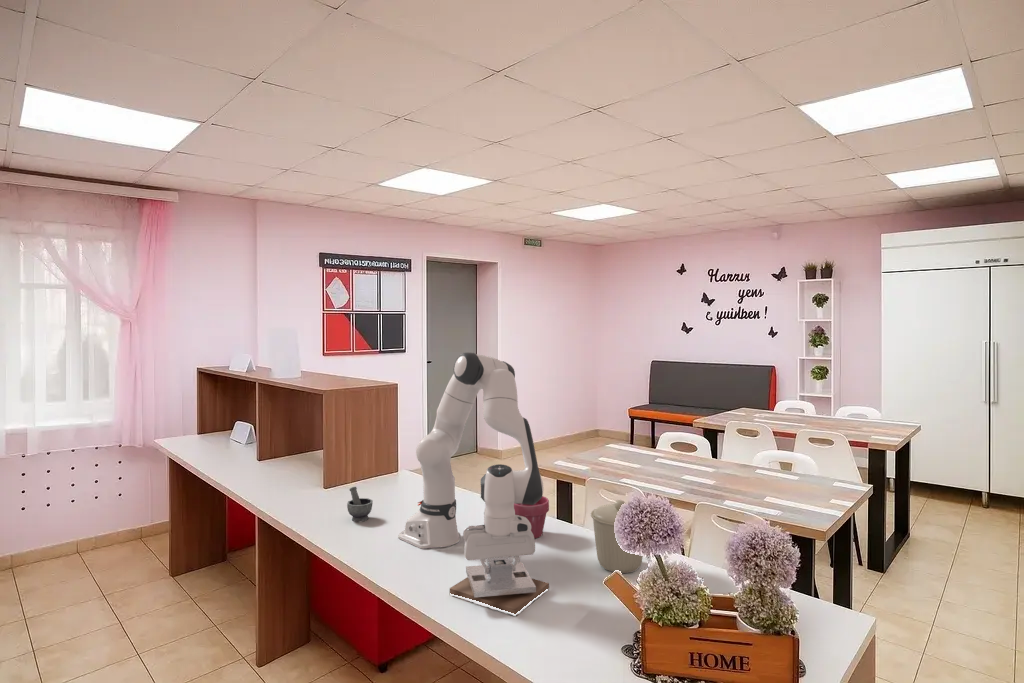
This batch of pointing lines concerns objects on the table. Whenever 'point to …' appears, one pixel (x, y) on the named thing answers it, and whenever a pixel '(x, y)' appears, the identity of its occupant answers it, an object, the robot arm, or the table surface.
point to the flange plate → (499, 579)
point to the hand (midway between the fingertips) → (499, 571)
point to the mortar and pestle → (359, 506)
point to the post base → (502, 602)
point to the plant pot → (534, 514)
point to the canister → (611, 541)
